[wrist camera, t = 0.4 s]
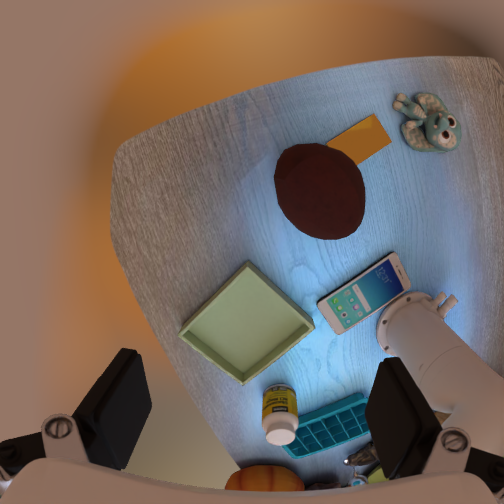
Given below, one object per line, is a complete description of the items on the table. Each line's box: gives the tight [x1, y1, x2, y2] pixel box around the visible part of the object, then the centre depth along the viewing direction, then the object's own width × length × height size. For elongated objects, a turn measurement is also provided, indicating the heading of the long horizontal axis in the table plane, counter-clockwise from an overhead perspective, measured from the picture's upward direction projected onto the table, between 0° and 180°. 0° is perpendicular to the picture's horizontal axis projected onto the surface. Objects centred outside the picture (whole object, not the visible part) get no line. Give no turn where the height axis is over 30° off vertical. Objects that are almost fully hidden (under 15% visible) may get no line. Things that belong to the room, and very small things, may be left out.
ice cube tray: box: [281, 393, 370, 459], centre depth 52 cm, size 12×20×3 cm, turn 118°
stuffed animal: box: [393, 93, 462, 153], centre depth 34 cm, size 11×7×12 cm
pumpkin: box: [225, 465, 304, 492], centre depth 52 cm, size 19×19×15 cm
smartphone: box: [317, 252, 411, 335], centre depth 45 cm, size 7×1×15 cm
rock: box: [304, 483, 341, 491], centre depth 55 cm, size 14×15×15 cm
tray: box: [178, 260, 315, 386], centre depth 46 cm, size 16×14×3 cm
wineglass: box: [344, 459, 371, 487], centre depth 51 cm, size 6×6×12 cm
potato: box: [274, 143, 365, 240], centre depth 36 cm, size 11×13×10 cm
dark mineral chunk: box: [347, 443, 379, 466], centre depth 52 cm, size 6×12×15 cm
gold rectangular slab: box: [325, 114, 392, 165], centre depth 39 cm, size 9×1×5 cm
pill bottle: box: [262, 384, 299, 446], centre depth 46 cm, size 6×6×11 cm
